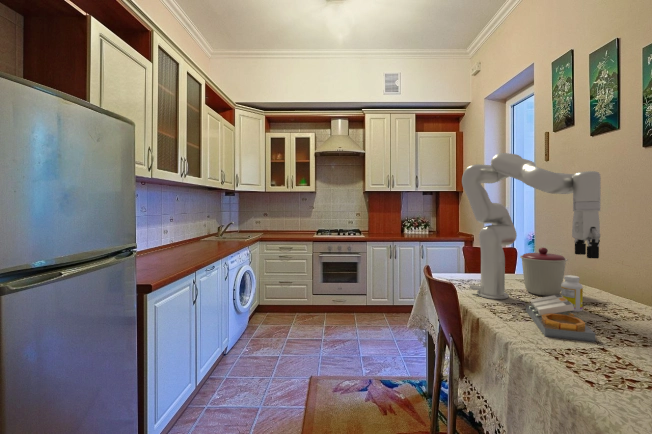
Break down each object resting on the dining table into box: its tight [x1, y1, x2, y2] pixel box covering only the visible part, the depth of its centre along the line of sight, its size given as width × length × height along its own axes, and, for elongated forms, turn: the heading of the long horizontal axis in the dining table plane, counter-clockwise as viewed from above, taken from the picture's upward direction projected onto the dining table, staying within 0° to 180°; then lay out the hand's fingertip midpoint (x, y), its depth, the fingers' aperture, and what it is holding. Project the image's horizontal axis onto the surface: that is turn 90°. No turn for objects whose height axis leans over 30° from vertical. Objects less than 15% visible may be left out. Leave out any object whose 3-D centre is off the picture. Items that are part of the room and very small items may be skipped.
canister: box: [519, 247, 568, 297], centre depth 150 cm, size 18×18×21 cm
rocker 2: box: [533, 297, 568, 311], centre depth 116 cm, size 10×3×2 cm, turn 69°
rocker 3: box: [537, 301, 574, 315], centre depth 112 cm, size 10×3×2 cm, turn 69°
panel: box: [525, 304, 596, 343], centre depth 110 cm, size 13×26×4 cm, turn 160°
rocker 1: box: [529, 293, 563, 307], centre depth 121 cm, size 10×3×2 cm, turn 69°
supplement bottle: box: [560, 274, 584, 313], centre depth 126 cm, size 7×7×13 cm
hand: (586, 256), depth 114 cm, fingers open, 9 cm apart
